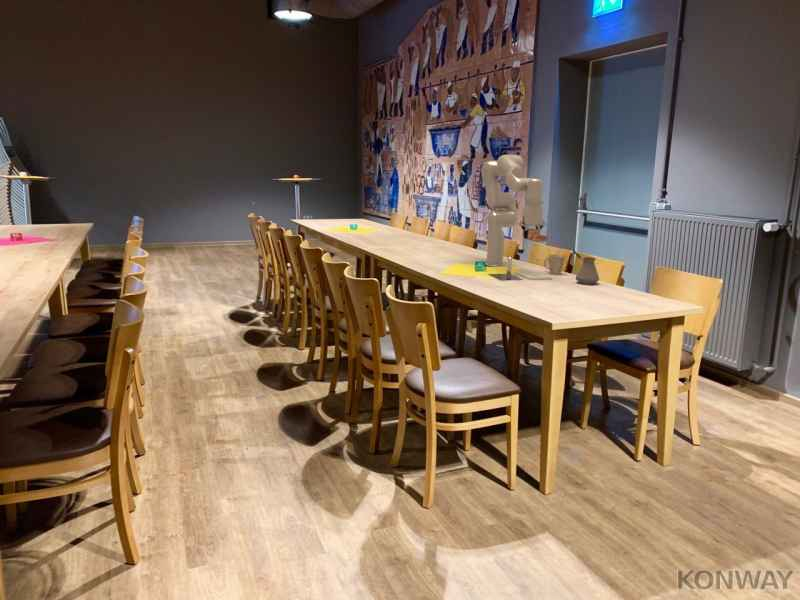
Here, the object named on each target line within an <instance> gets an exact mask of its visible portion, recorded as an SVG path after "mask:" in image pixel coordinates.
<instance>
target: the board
mask: <svg viewBox="0 0 800 600" xmlns="http://www.w3.org/2000/svg"><path fill="white" fill-rule="evenodd" d="M513 275H515V276H519V277H520V278H522V279H526V280H528V281H548V280H549V281H552V278H553V277H552V276H548V275H546V274H543V273H541V272H539V271H535V270H517V271H516V270H515V271H514V270H513Z"/></svg>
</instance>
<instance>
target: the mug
mask: <svg viewBox="0 0 800 600" xmlns="http://www.w3.org/2000/svg"><path fill="white" fill-rule="evenodd" d="M547 261H548V266H547V264H546V263H547ZM564 261H565V255H562V254H548V256H547V257H545V259H544V261H543V266H544V267H545V268H546V270H549V271H548V272H549V274H550V275H556V276H557V275H559V276H560V275H562V271H563V267H564V266H563V265H564Z"/></svg>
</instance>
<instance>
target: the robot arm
mask: <svg viewBox="0 0 800 600" xmlns="http://www.w3.org/2000/svg"><path fill="white" fill-rule="evenodd" d="M523 167H524V159H523V157H522V156H521V155H519V154H502V155H500V156H499V157H498V159H497V160H487V161H485V162H484V163H482V167H481V177H482V181H483V184H484V187H485V193H486V194H485V195H486V202H487V206H488V208H489V209H491V210H492V209H493V210H492V211H490V212H488V214H487V216H486V221H487V250H486V261H485V262H486V263H487V266H486V267H490V268H495V267H500V268H501V267H506V265H507V264H506V263H505V262H504V257H505V256H504V253H505V239H506V238H505V233H504V230H503V228H513V227H515V226H516V225H517V224H518V226H519V227H520V228H521V229H522V231H523V235H522V236H523V239H524V238H525V240H528V239H527V237H528V231H527V229H529V226H535V229H537V230H539V232H540V231H541V230H542V229H543V228H544V227H545V225H546V224H547V223H546V221H544V218H543V216H544V215H543V206H542V205H543V204H544V201H543V200H542V195H543V194H542V192H543V191H542V189H543V180H542V179H540V178H533V177H532V178H531V177H520V176H521V175H522V169H523ZM498 176H500V177H505V184H506V186H507V187H508V189H510V191H511V192H504V191H502V188H501V184H500V182H499V180H498V179H497V178H496V177H498ZM512 192H513V193H519V194H520V193H524V194H525V193H526V195H525V196H526V199H525V205H524V206H523V209H522V214H521V219H520V220H519V222H518V213H517V205H516V199H515V197H514V196H515V195H513V194H512ZM517 222H518V223H517ZM546 226H547V225H546Z"/></svg>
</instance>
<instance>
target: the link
mask: <svg viewBox="0 0 800 600" xmlns="http://www.w3.org/2000/svg"><path fill="white" fill-rule="evenodd" d="M527 231H528V237H527V239H525V238H524V237H523V239H525V240H528V241H531V242H535V243H547V242H548V241H547V240H548V239H547V238H548V236H547V235H545V234H541V233H540V231H539V230H537V229H536V228H528V229H527Z"/></svg>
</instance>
